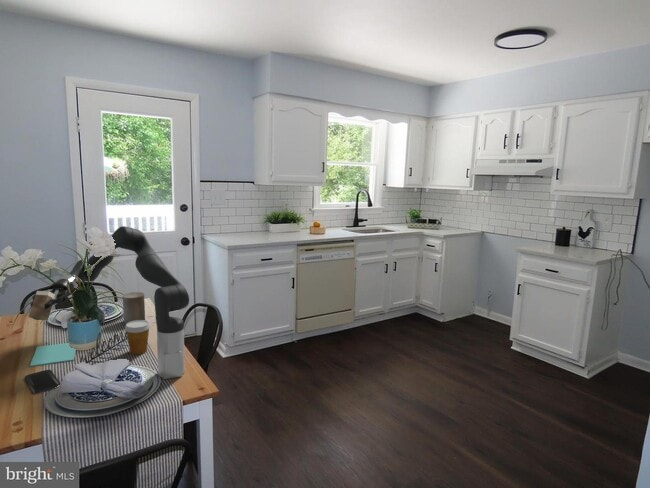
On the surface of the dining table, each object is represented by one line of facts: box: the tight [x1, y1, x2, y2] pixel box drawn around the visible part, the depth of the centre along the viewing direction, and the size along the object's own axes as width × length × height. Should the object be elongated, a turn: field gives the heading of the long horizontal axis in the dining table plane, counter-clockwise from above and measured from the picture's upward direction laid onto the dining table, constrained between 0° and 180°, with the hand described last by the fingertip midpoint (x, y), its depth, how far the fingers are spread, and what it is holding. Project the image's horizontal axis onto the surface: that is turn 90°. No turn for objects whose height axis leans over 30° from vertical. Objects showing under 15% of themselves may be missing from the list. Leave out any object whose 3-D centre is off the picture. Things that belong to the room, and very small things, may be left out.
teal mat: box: [29, 342, 77, 368], centre depth 165 cm, size 18×14×1 cm
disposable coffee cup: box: [124, 319, 151, 356], centre depth 169 cm, size 10×10×12 cm
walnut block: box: [28, 290, 55, 321], centre depth 157 cm, size 4×4×10 cm
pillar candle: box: [122, 291, 146, 325], centre depth 202 cm, size 10×10×15 cm
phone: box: [24, 369, 62, 395], centre depth 143 cm, size 8×1×15 cm
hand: (38, 306), depth 155 cm, fingers closed on walnut block, 4 cm apart
